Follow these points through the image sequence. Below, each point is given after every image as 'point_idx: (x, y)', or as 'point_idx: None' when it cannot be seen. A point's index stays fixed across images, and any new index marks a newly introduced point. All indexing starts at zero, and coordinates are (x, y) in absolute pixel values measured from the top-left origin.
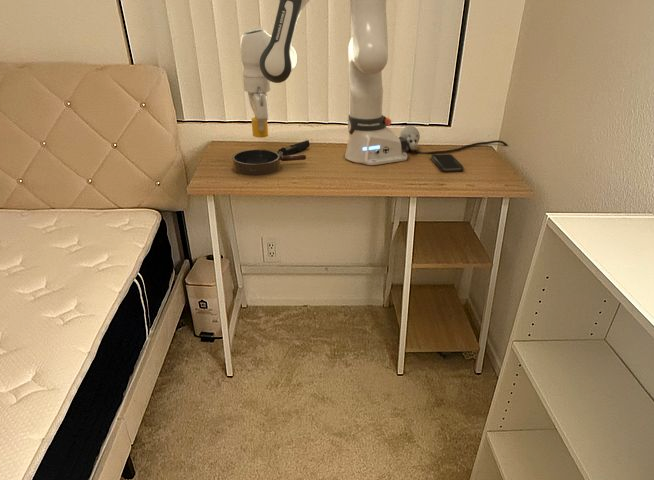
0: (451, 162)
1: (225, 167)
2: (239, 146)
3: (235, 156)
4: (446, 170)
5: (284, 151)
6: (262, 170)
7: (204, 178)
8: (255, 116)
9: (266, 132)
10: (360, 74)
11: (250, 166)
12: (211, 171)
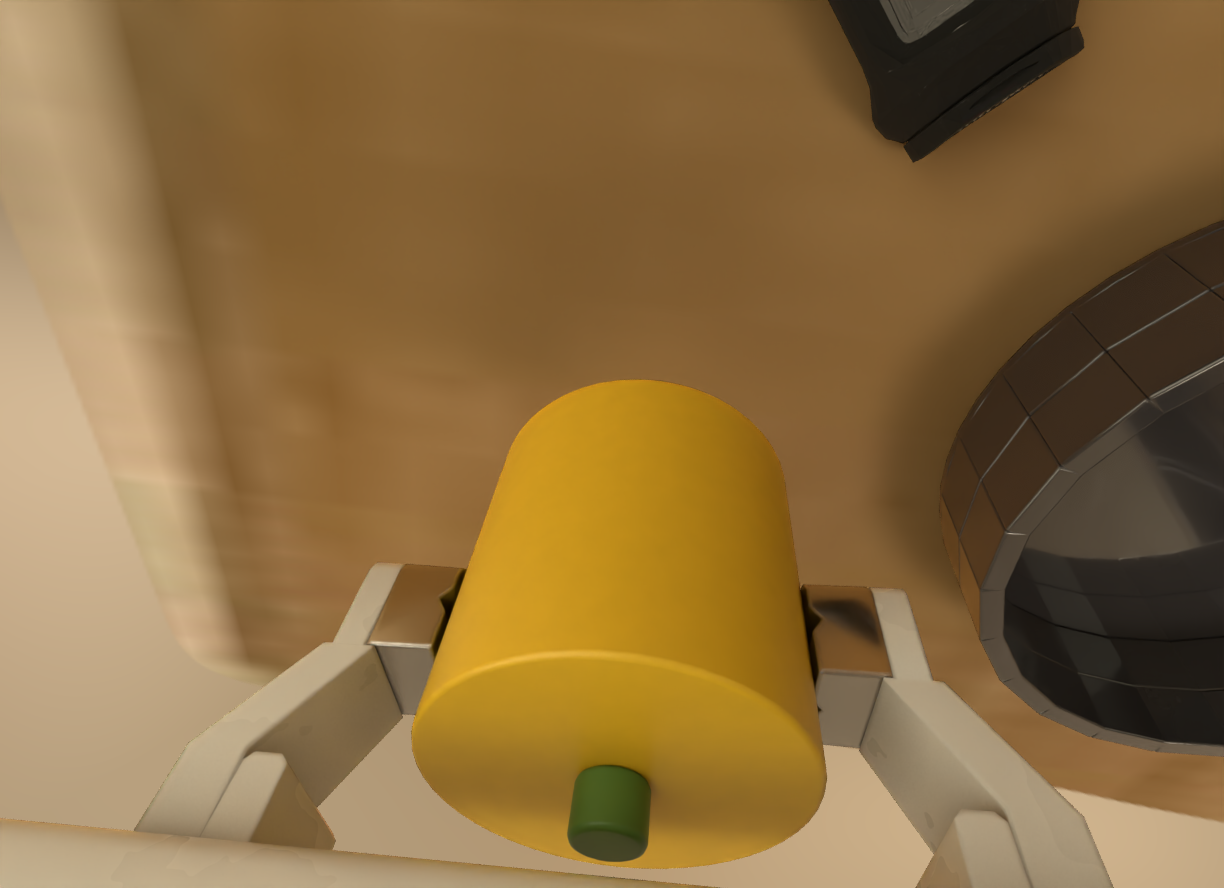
0: None
1: (995, 677)
2: (369, 513)
3: (1095, 713)
4: None
5: (1057, 21)
6: None
7: (1174, 795)
8: (342, 772)
9: (748, 464)
10: None
11: None
12: (1038, 751)
